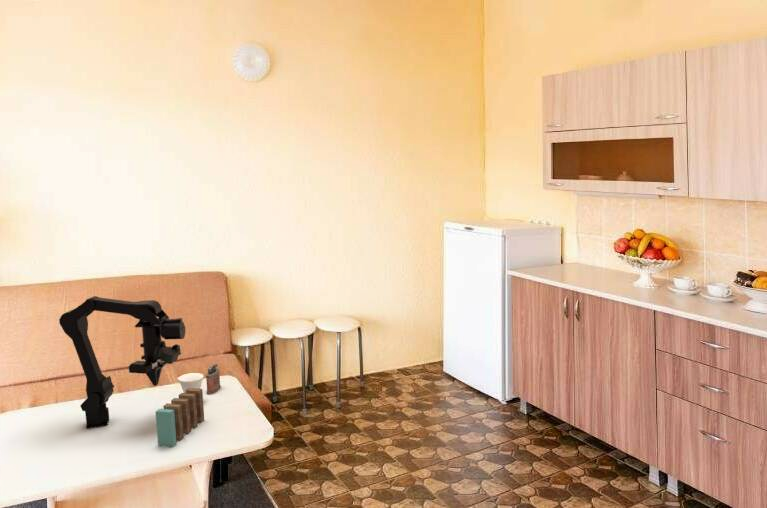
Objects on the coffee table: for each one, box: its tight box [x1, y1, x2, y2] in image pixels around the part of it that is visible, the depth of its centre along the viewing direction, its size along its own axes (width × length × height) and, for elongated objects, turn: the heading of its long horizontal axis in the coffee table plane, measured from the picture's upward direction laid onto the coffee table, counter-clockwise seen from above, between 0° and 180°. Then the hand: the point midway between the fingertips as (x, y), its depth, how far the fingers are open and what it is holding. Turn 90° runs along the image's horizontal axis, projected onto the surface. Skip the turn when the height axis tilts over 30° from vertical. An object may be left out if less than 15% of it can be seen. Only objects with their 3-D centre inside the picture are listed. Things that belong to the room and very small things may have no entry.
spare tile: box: [155, 408, 177, 448], centre depth 184 cm, size 2×5×11 cm, turn 78°
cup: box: [176, 372, 205, 393], centre depth 218 cm, size 9×9×10 cm
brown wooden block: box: [170, 397, 192, 435], centre depth 193 cm, size 2×5×11 cm, turn 79°
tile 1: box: [186, 388, 205, 424], centre depth 202 cm, size 2×5×11 cm, turn 79°
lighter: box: [205, 362, 222, 396], centre depth 230 cm, size 8×3×10 cm, turn 168°
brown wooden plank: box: [178, 392, 199, 429], centre depth 197 cm, size 2×5×11 cm, turn 79°
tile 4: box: [162, 403, 185, 441], centre depth 189 cm, size 2×5×11 cm, turn 79°
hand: (155, 385), depth 200 cm, fingers closed
